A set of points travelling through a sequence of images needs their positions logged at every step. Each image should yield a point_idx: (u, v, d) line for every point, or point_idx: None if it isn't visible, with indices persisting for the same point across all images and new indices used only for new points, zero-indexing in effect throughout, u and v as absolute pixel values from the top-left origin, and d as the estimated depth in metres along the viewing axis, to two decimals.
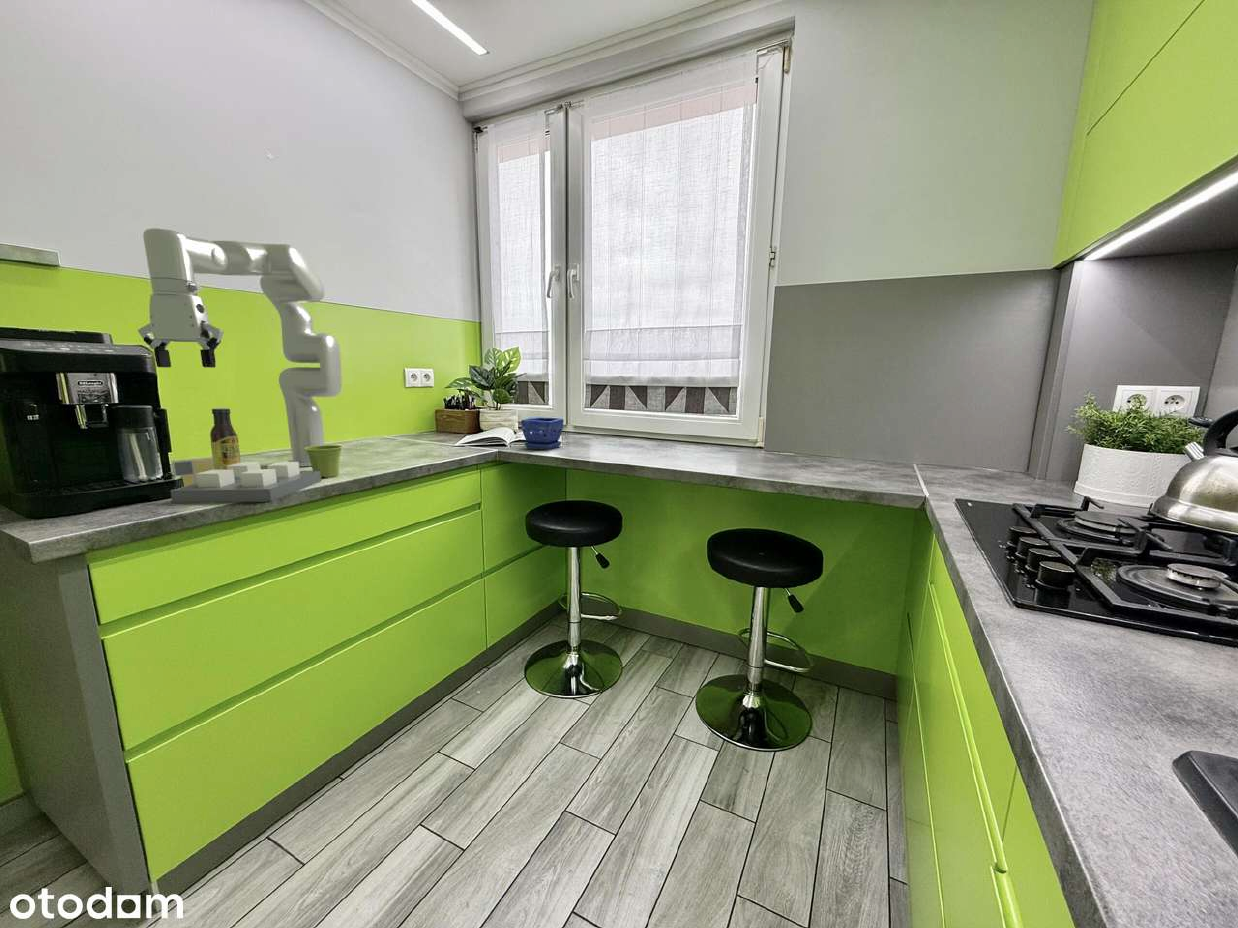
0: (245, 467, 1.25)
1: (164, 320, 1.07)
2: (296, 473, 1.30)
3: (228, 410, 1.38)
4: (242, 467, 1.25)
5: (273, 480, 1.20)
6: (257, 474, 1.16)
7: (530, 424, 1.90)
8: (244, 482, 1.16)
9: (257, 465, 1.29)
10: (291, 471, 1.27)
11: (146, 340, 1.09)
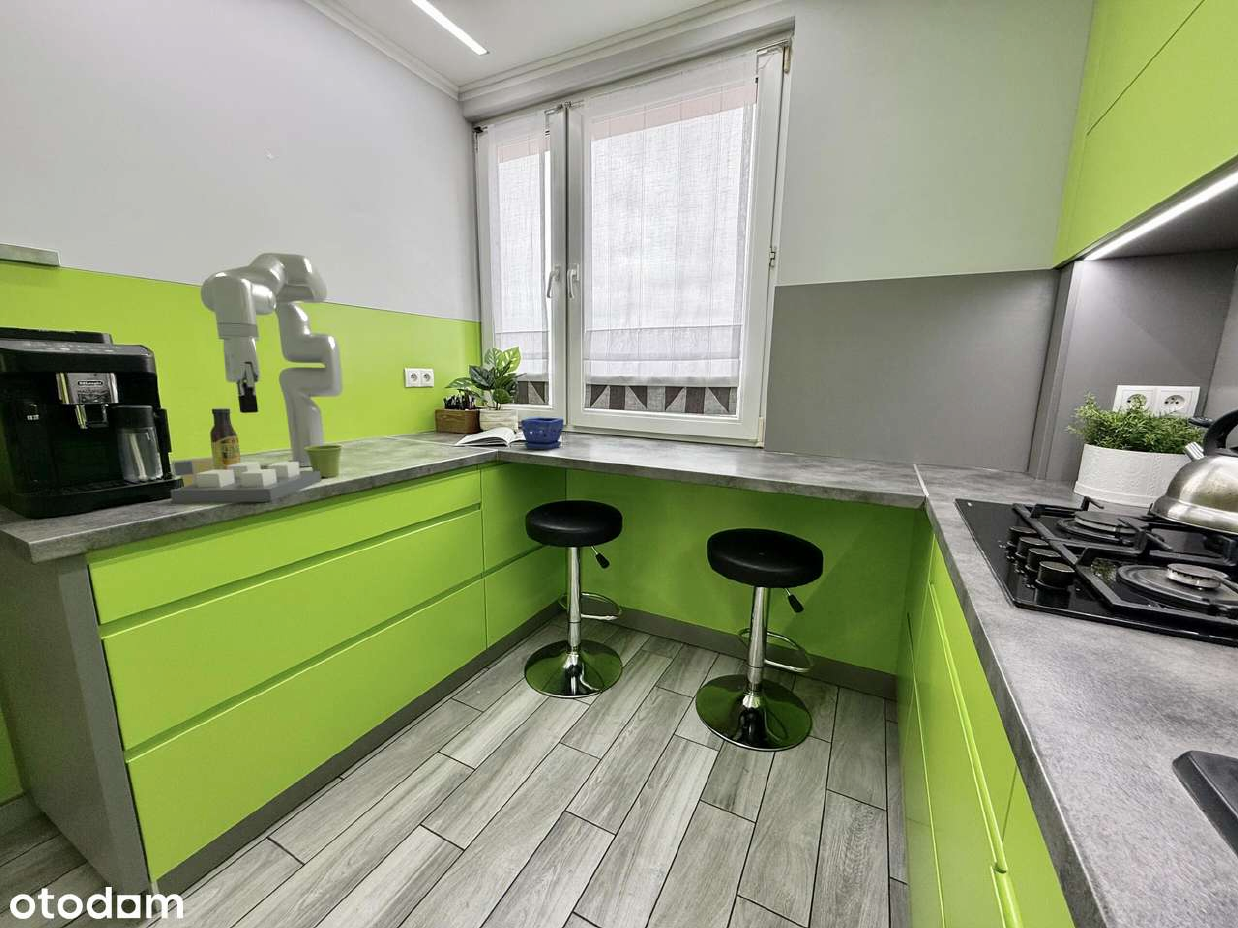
0: (245, 467, 1.25)
1: None
2: (296, 473, 1.30)
3: (228, 410, 1.38)
4: (242, 467, 1.25)
5: (273, 480, 1.20)
6: (257, 474, 1.16)
7: (530, 424, 1.90)
8: (244, 482, 1.16)
9: (257, 465, 1.29)
10: (291, 471, 1.27)
11: None
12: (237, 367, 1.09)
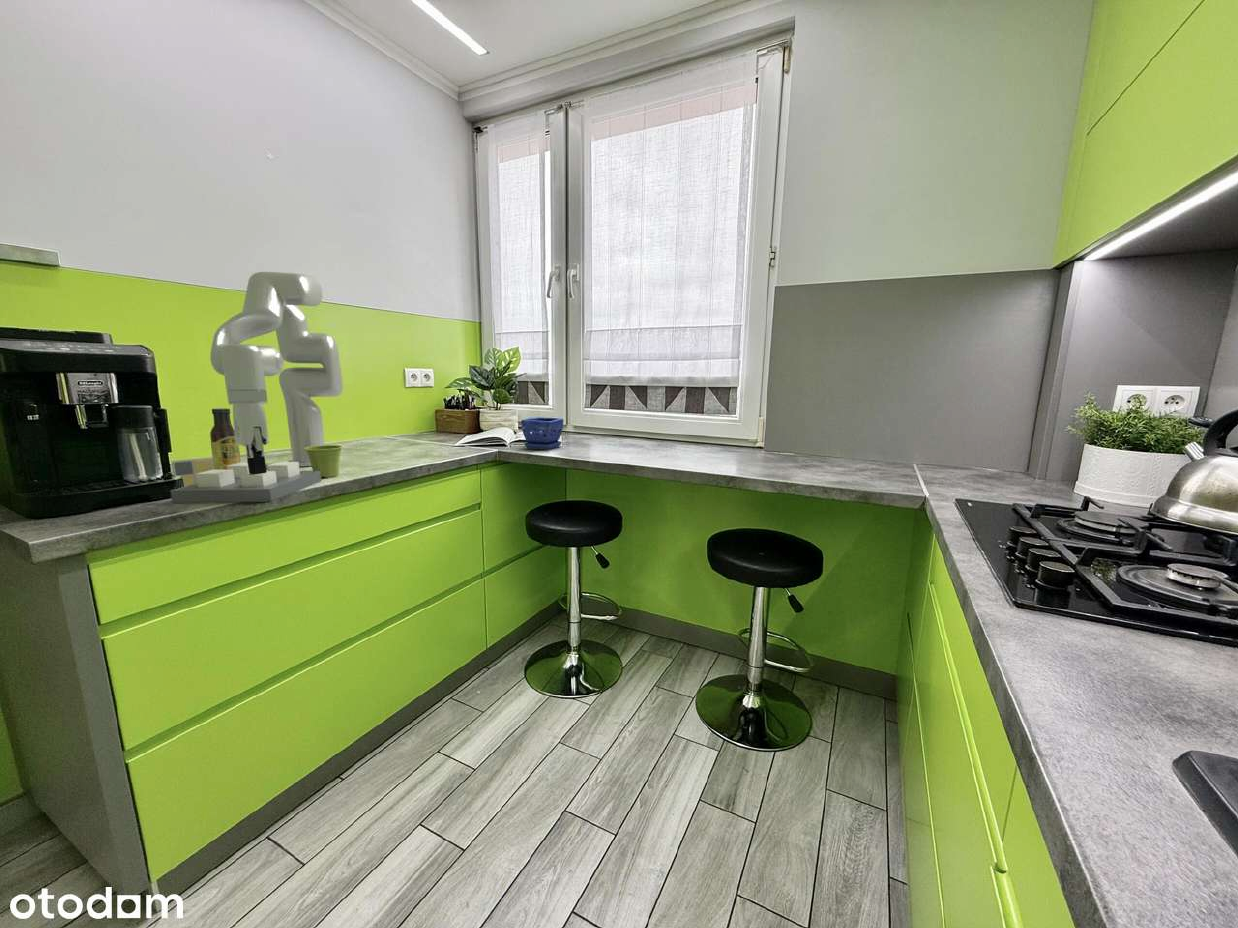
0: (245, 467, 1.25)
1: None
2: (296, 473, 1.30)
3: (228, 410, 1.38)
4: (242, 467, 1.25)
5: (273, 482, 1.20)
6: (257, 476, 1.16)
7: (530, 424, 1.90)
8: (244, 484, 1.16)
9: None
10: (291, 471, 1.27)
11: None
12: (246, 433, 1.11)
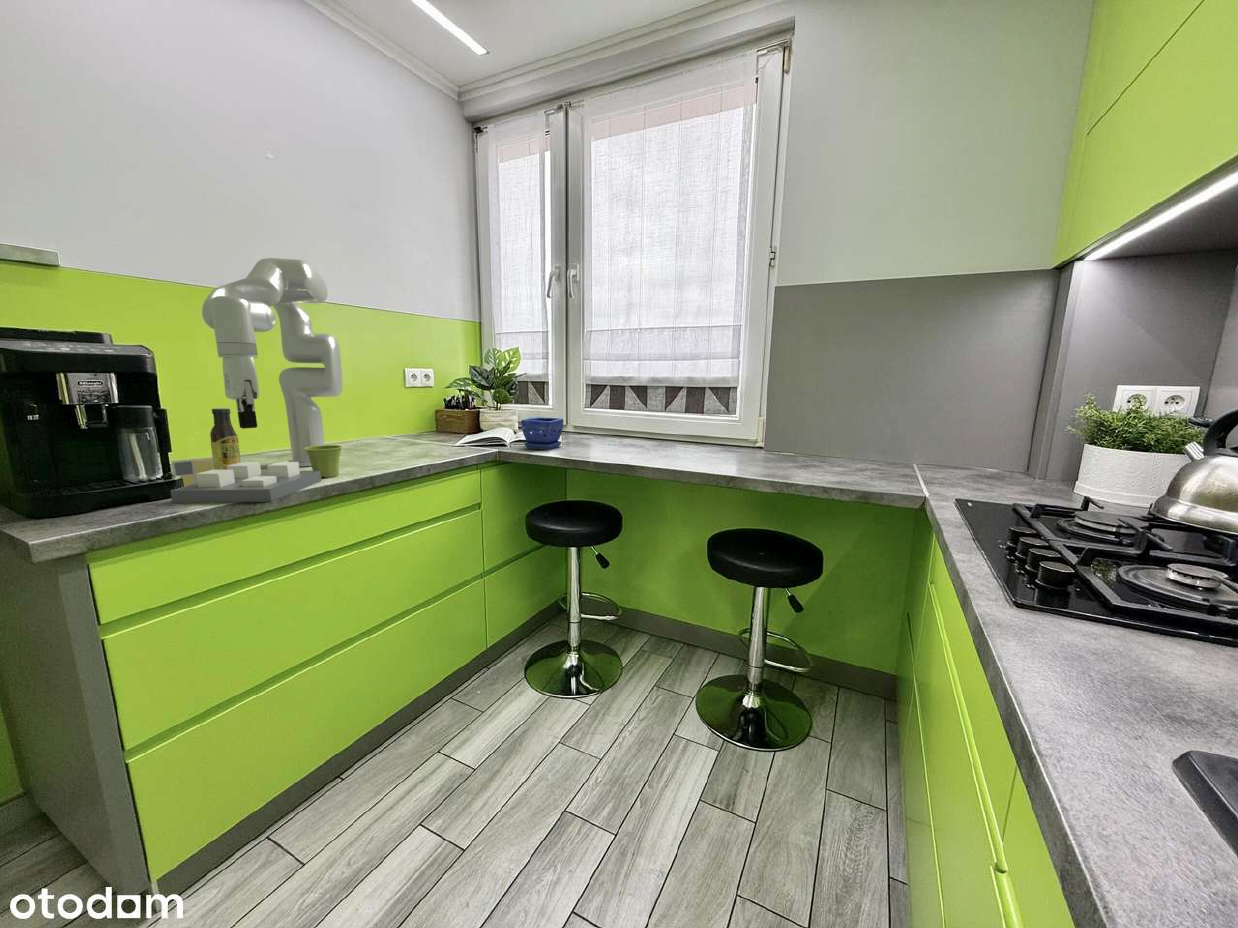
0: (245, 467, 1.25)
1: None
2: (296, 473, 1.30)
3: (228, 410, 1.38)
4: (242, 467, 1.25)
5: None
6: (258, 481, 1.16)
7: (530, 424, 1.90)
8: None
9: (257, 465, 1.29)
10: (291, 471, 1.27)
11: None
12: (237, 385, 1.12)
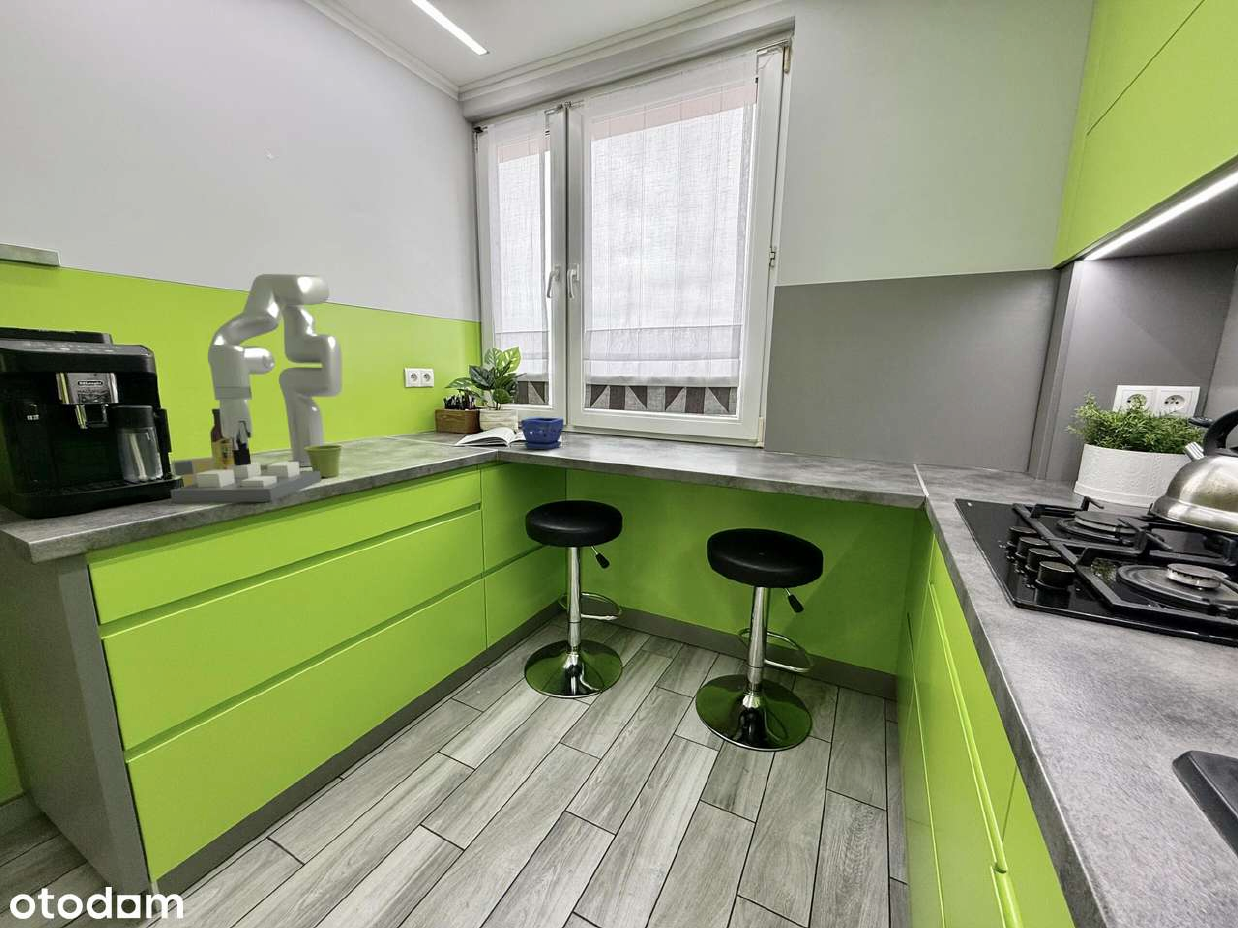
0: (245, 467, 1.25)
1: None
2: (296, 473, 1.30)
3: None
4: (242, 467, 1.25)
5: None
6: (258, 481, 1.16)
7: (530, 424, 1.90)
8: None
9: (257, 465, 1.29)
10: (291, 471, 1.27)
11: None
12: (231, 426, 1.20)
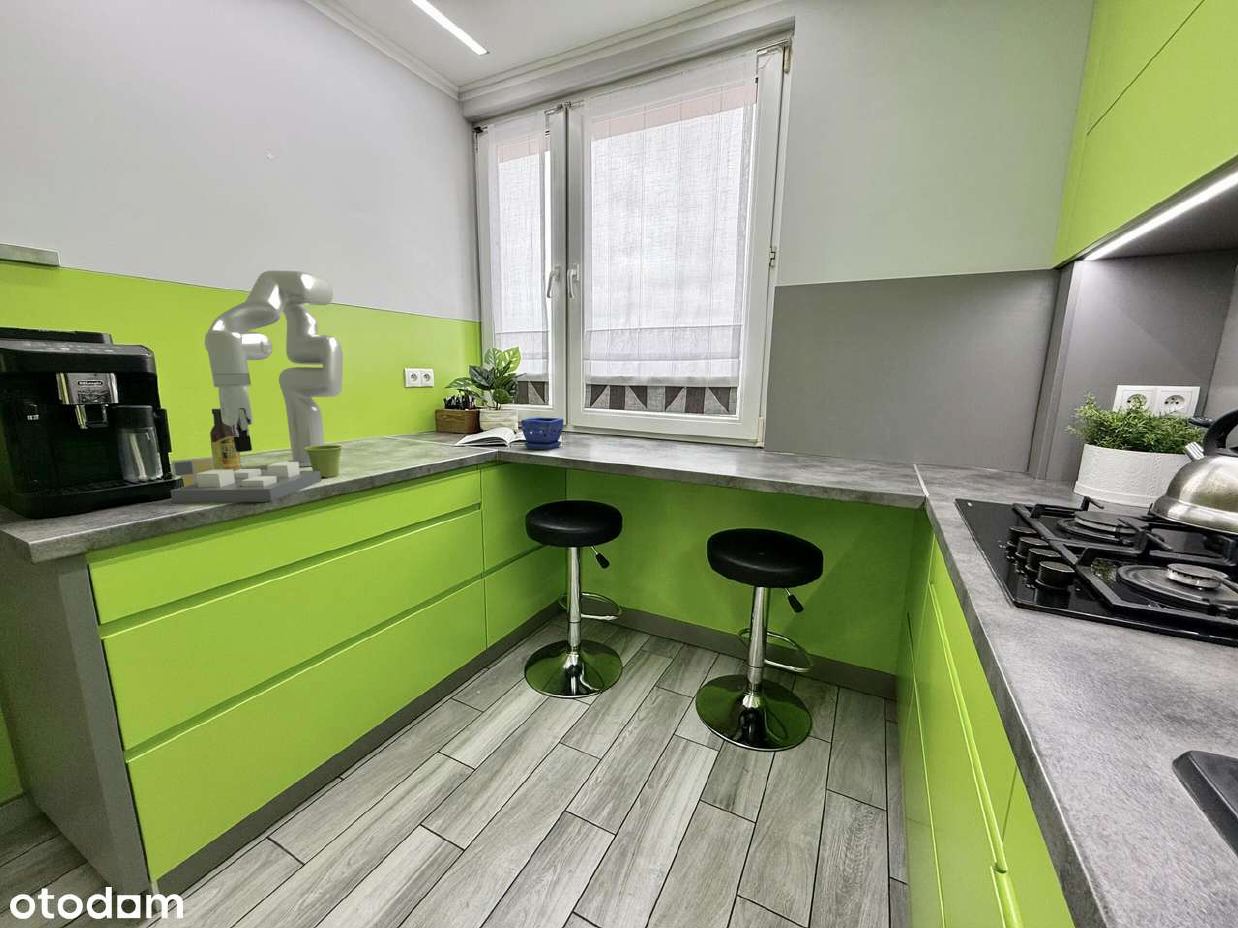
0: (246, 474, 1.25)
1: None
2: (296, 473, 1.30)
3: None
4: (243, 474, 1.25)
5: None
6: (258, 481, 1.16)
7: (530, 424, 1.90)
8: None
9: (258, 472, 1.29)
10: (291, 471, 1.27)
11: None
12: (231, 414, 1.20)
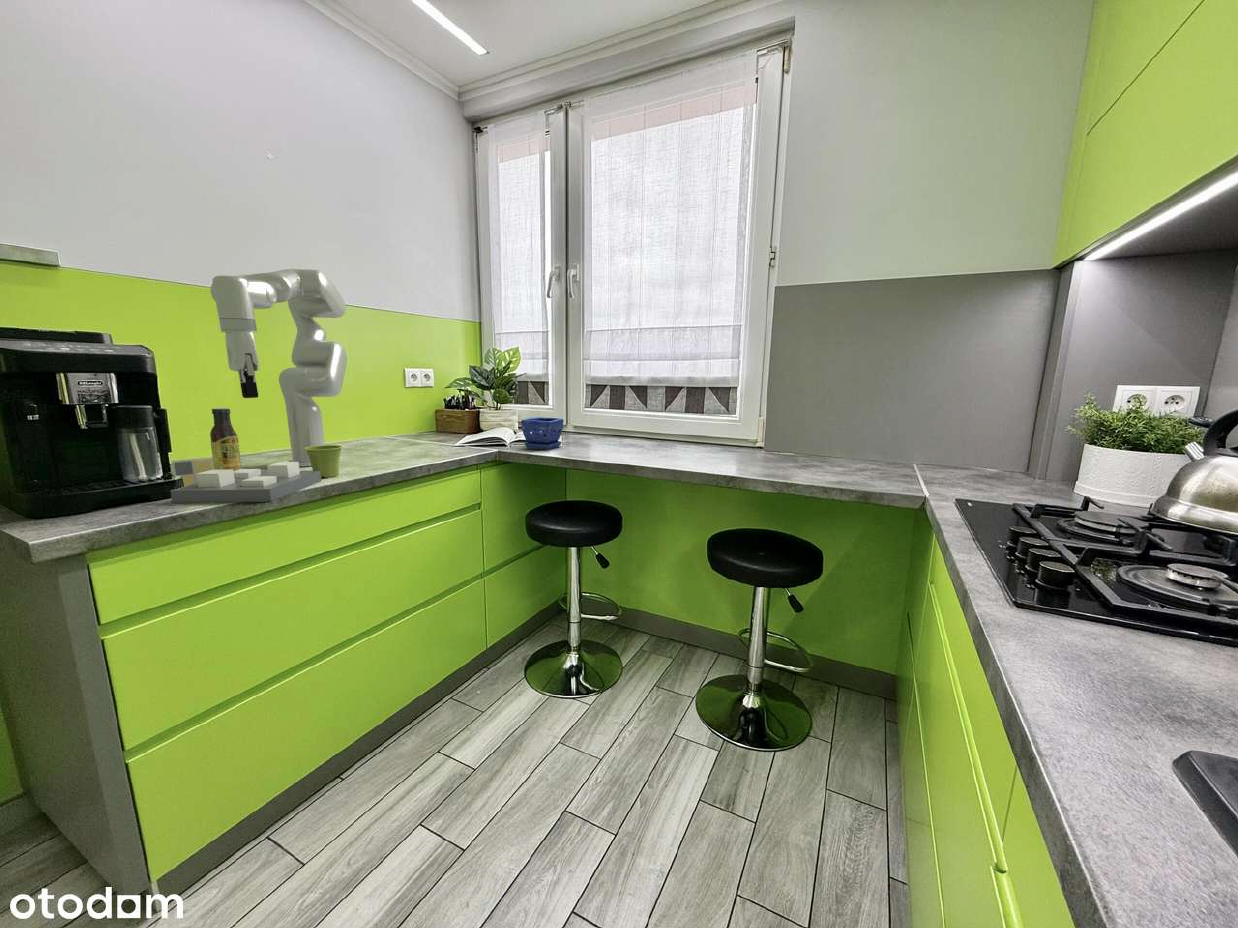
0: (246, 474, 1.25)
1: None
2: (296, 473, 1.30)
3: (228, 410, 1.38)
4: (243, 474, 1.25)
5: None
6: (258, 481, 1.16)
7: (530, 424, 1.90)
8: None
9: (258, 472, 1.29)
10: (291, 471, 1.27)
11: None
12: (238, 358, 1.23)
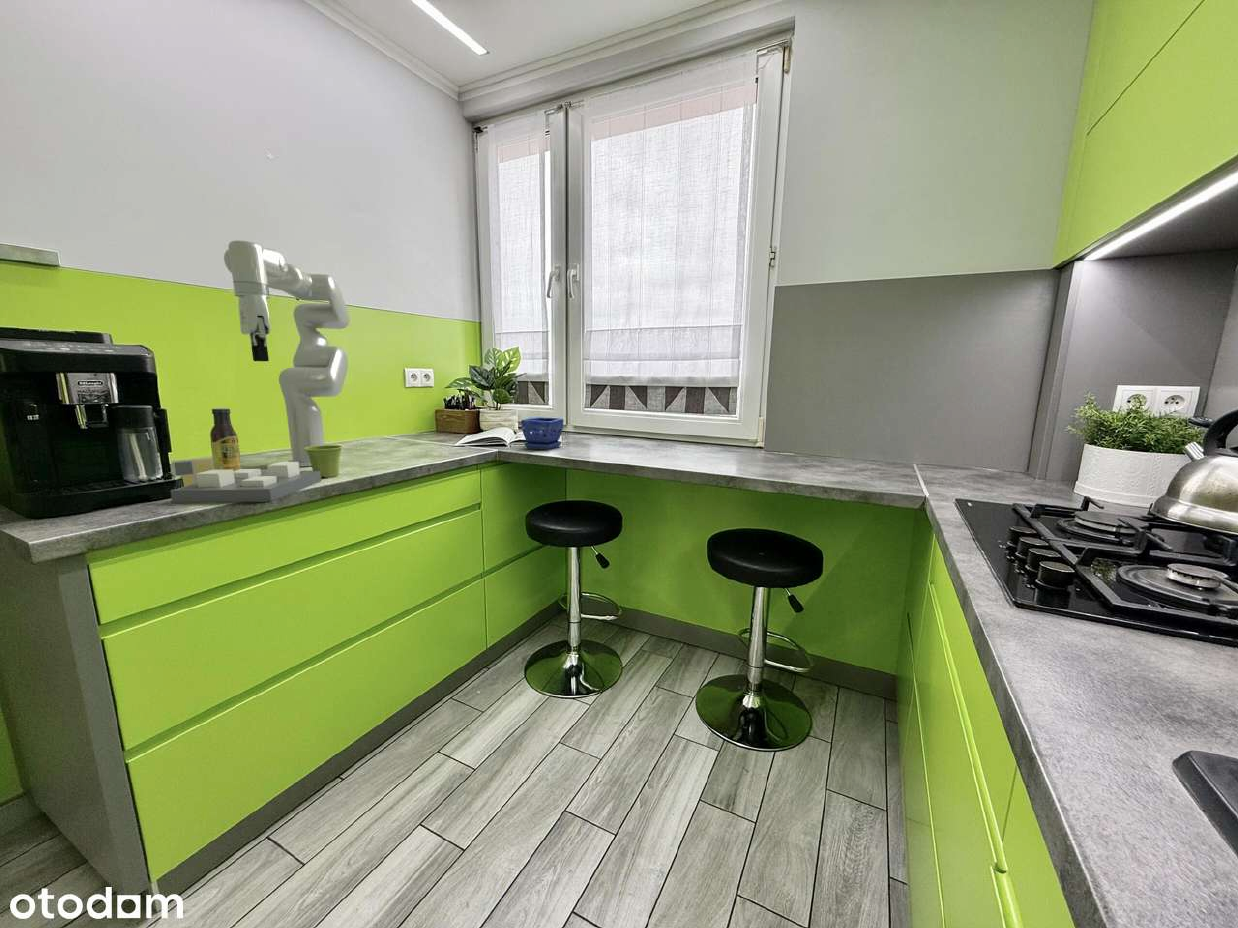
0: (246, 474, 1.25)
1: None
2: (296, 473, 1.30)
3: (228, 410, 1.38)
4: (243, 474, 1.25)
5: None
6: (258, 481, 1.16)
7: (530, 424, 1.90)
8: None
9: (258, 472, 1.29)
10: (291, 471, 1.27)
11: None
12: (251, 320, 1.26)
